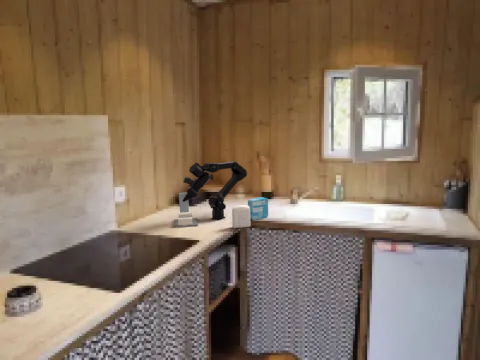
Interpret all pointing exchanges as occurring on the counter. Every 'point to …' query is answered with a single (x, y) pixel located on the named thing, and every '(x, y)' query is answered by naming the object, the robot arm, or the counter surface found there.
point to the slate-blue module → (183, 203)
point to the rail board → (185, 220)
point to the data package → (258, 208)
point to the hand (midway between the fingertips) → (183, 200)
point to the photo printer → (241, 216)
